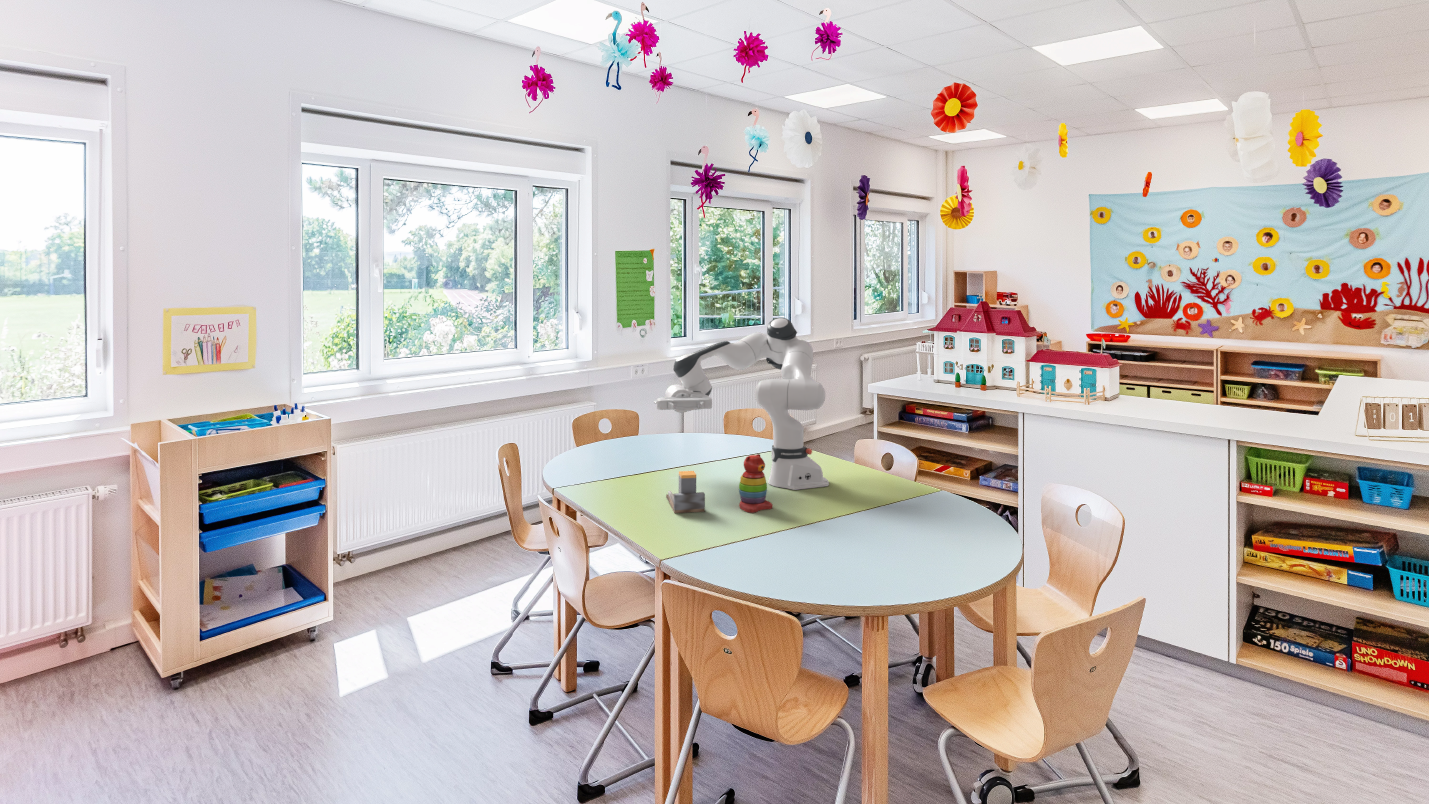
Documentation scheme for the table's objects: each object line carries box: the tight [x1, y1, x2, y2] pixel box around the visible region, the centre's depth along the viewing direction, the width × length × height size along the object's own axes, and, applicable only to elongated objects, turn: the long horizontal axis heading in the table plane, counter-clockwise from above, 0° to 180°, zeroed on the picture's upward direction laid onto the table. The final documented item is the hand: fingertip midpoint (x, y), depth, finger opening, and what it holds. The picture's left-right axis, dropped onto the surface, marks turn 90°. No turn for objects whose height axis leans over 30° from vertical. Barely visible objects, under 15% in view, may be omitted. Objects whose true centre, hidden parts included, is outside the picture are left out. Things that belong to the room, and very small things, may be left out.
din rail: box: [665, 490, 706, 514], centre depth 257 cm, size 10×18×6 cm, turn 12°
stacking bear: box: [738, 453, 774, 514], centre depth 254 cm, size 11×10×18 cm
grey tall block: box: [678, 470, 697, 493], centre depth 253 cm, size 5×5×11 cm
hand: (687, 406), depth 271 cm, fingers open, 8 cm apart
